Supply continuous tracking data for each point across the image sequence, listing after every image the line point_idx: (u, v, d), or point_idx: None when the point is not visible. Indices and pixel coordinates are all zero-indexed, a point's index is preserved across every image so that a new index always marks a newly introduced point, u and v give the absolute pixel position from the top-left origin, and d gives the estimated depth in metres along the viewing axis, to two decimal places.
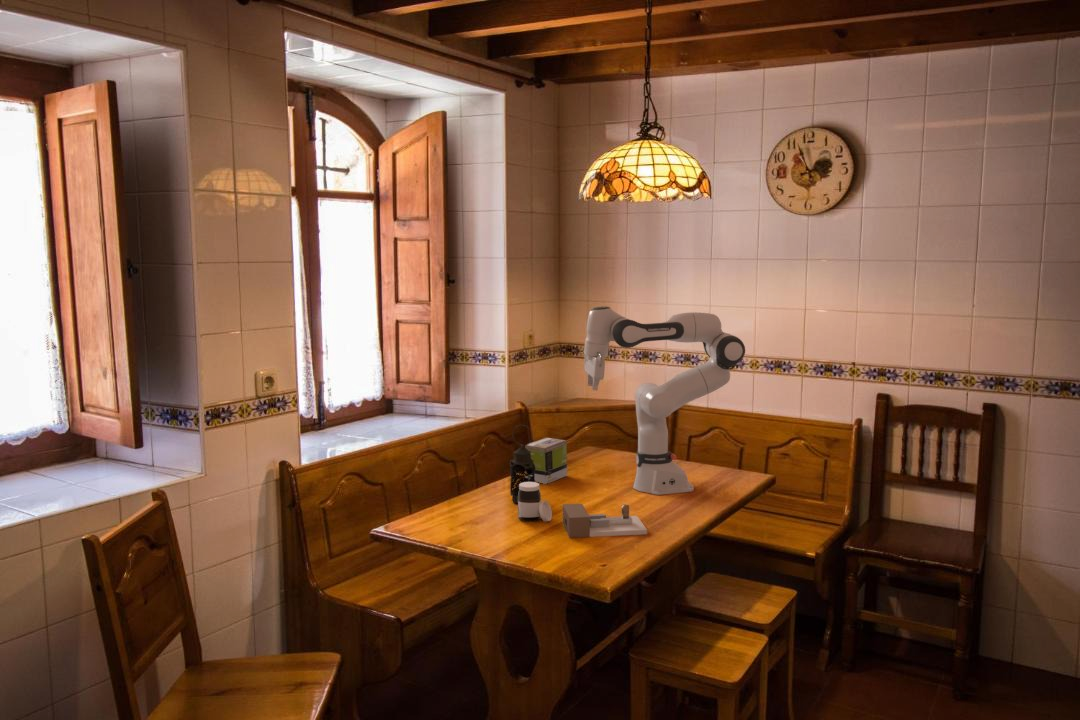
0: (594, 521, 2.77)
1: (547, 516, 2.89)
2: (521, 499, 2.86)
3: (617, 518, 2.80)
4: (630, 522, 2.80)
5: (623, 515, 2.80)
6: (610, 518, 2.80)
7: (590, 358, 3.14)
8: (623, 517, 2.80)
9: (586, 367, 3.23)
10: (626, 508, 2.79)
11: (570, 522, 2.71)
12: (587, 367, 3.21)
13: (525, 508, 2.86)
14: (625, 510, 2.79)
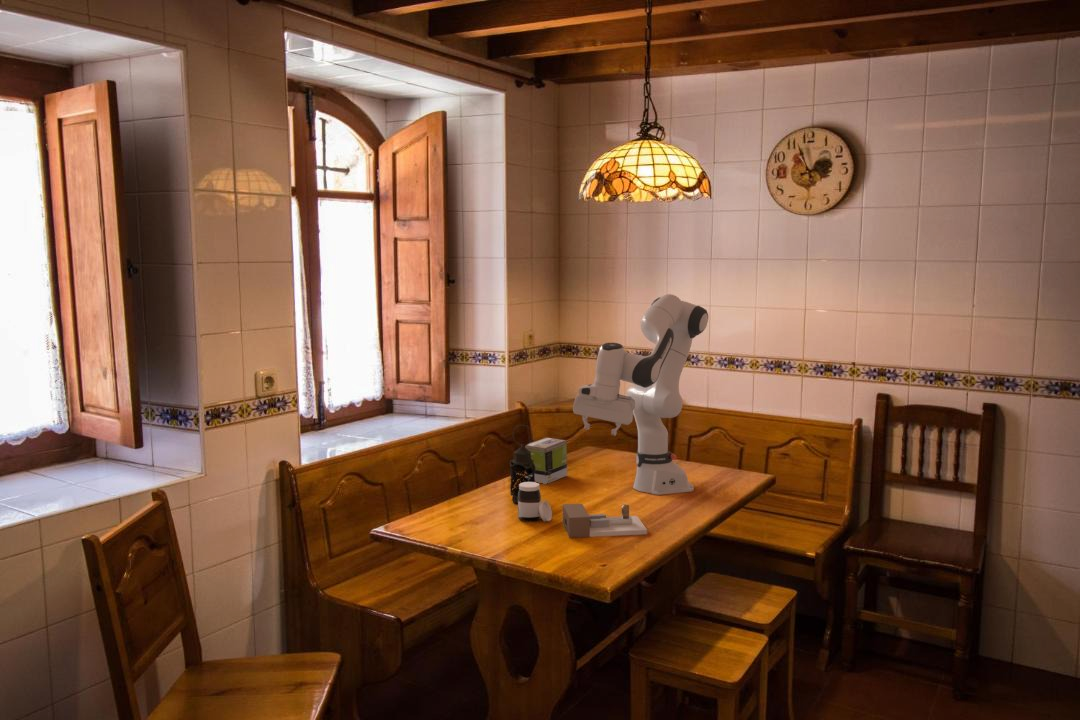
0: (594, 521, 2.77)
1: (547, 516, 2.89)
2: (521, 499, 2.86)
3: (617, 518, 2.80)
4: (630, 522, 2.80)
5: (623, 515, 2.80)
6: (610, 518, 2.80)
7: (608, 402, 2.84)
8: (623, 517, 2.80)
9: (584, 410, 2.88)
10: (626, 508, 2.79)
11: (570, 522, 2.71)
12: (589, 410, 2.87)
13: (525, 508, 2.86)
14: (625, 510, 2.79)
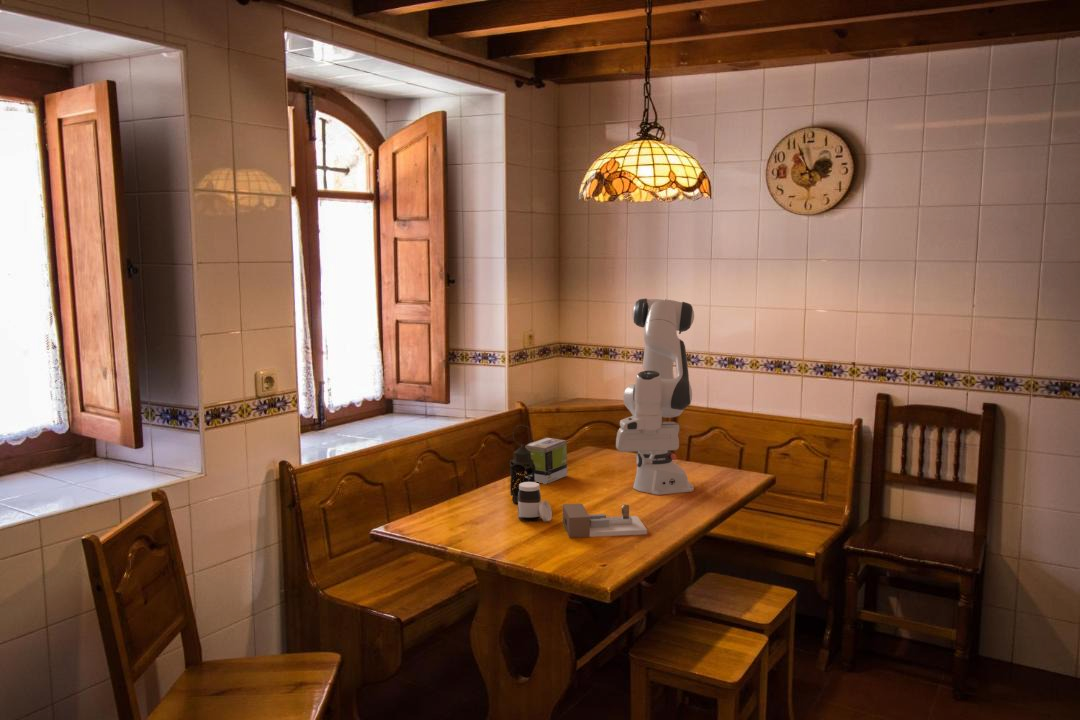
0: (594, 521, 2.77)
1: (547, 516, 2.89)
2: (521, 499, 2.86)
3: (617, 518, 2.80)
4: (630, 522, 2.80)
5: (623, 515, 2.80)
6: (610, 518, 2.80)
7: (656, 431, 2.76)
8: (623, 517, 2.80)
9: (630, 446, 2.76)
10: (626, 508, 2.79)
11: (570, 522, 2.71)
12: (636, 445, 2.76)
13: (525, 508, 2.86)
14: (625, 510, 2.79)
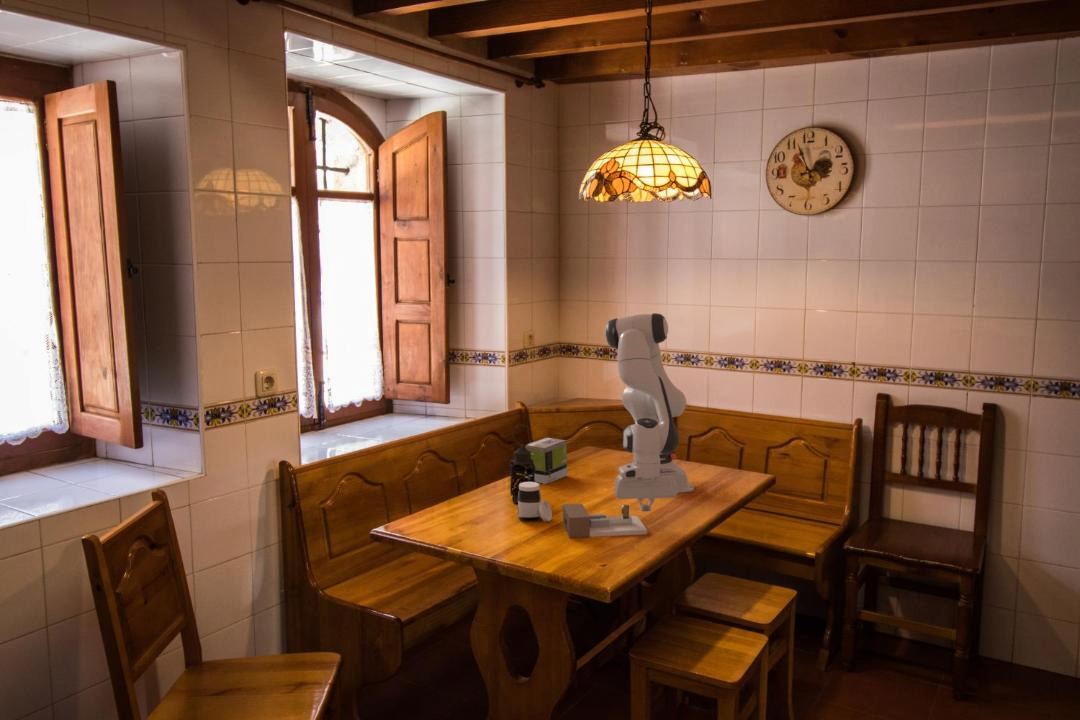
0: (594, 521, 2.77)
1: (547, 516, 2.89)
2: (521, 499, 2.86)
3: (617, 518, 2.80)
4: (630, 522, 2.80)
5: (623, 515, 2.80)
6: (610, 518, 2.80)
7: (654, 479, 2.78)
8: (623, 517, 2.80)
9: (629, 493, 2.78)
10: (626, 508, 2.79)
11: (570, 522, 2.71)
12: (635, 492, 2.78)
13: (525, 508, 2.86)
14: (625, 510, 2.79)
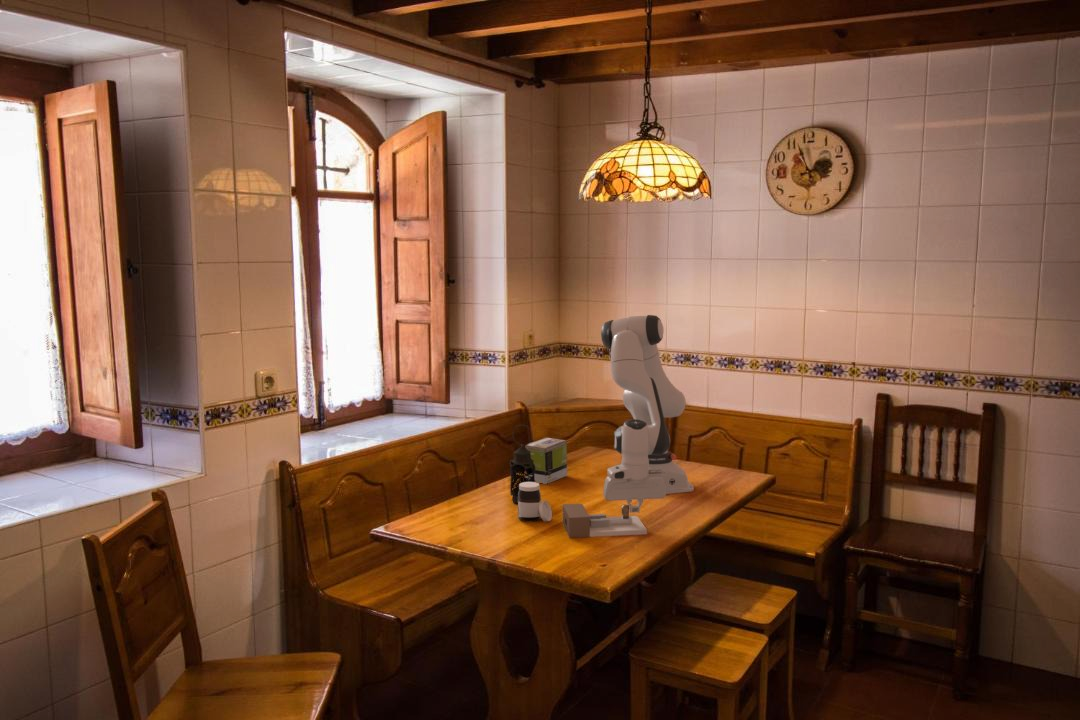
0: (594, 521, 2.77)
1: (547, 516, 2.89)
2: (521, 499, 2.86)
3: (617, 518, 2.80)
4: (630, 522, 2.80)
5: (623, 515, 2.80)
6: (610, 518, 2.80)
7: (643, 480, 2.77)
8: (623, 517, 2.80)
9: (618, 494, 2.77)
10: (626, 508, 2.79)
11: (570, 522, 2.71)
12: (623, 493, 2.78)
13: (525, 508, 2.86)
14: (625, 510, 2.79)
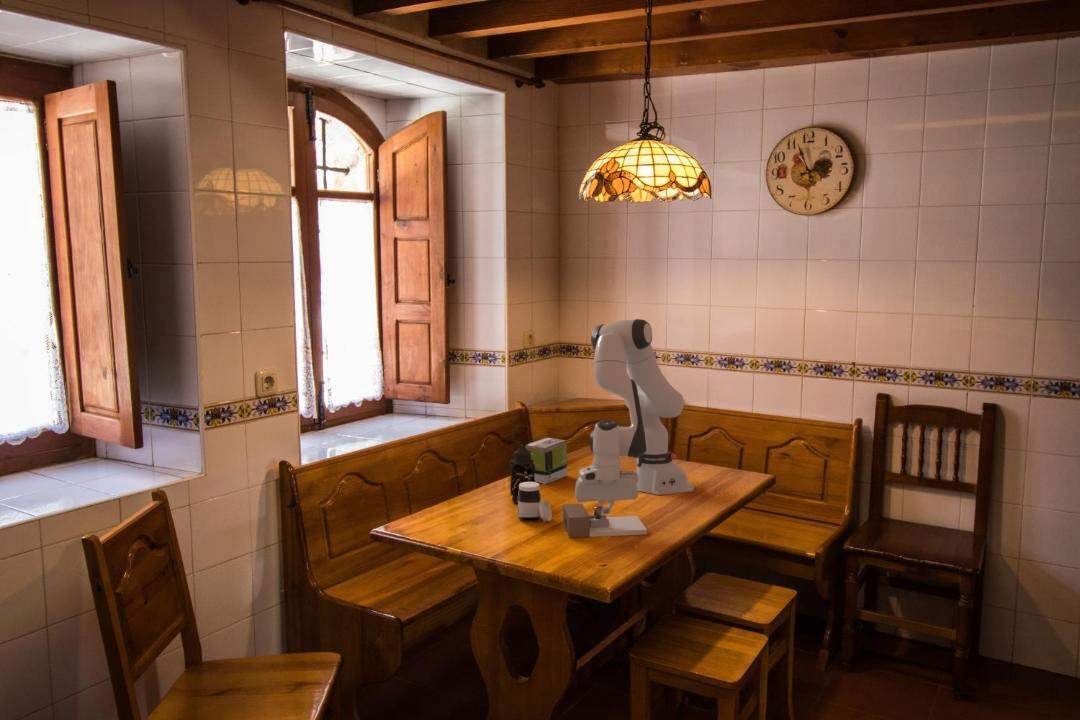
0: (594, 521, 2.77)
1: (547, 516, 2.89)
2: (521, 499, 2.86)
3: None
4: None
5: (595, 516, 2.79)
6: None
7: (614, 481, 2.76)
8: (595, 518, 2.79)
9: (589, 496, 2.76)
10: (598, 509, 2.78)
11: (570, 522, 2.71)
12: (595, 494, 2.76)
13: (525, 508, 2.86)
14: (598, 511, 2.78)
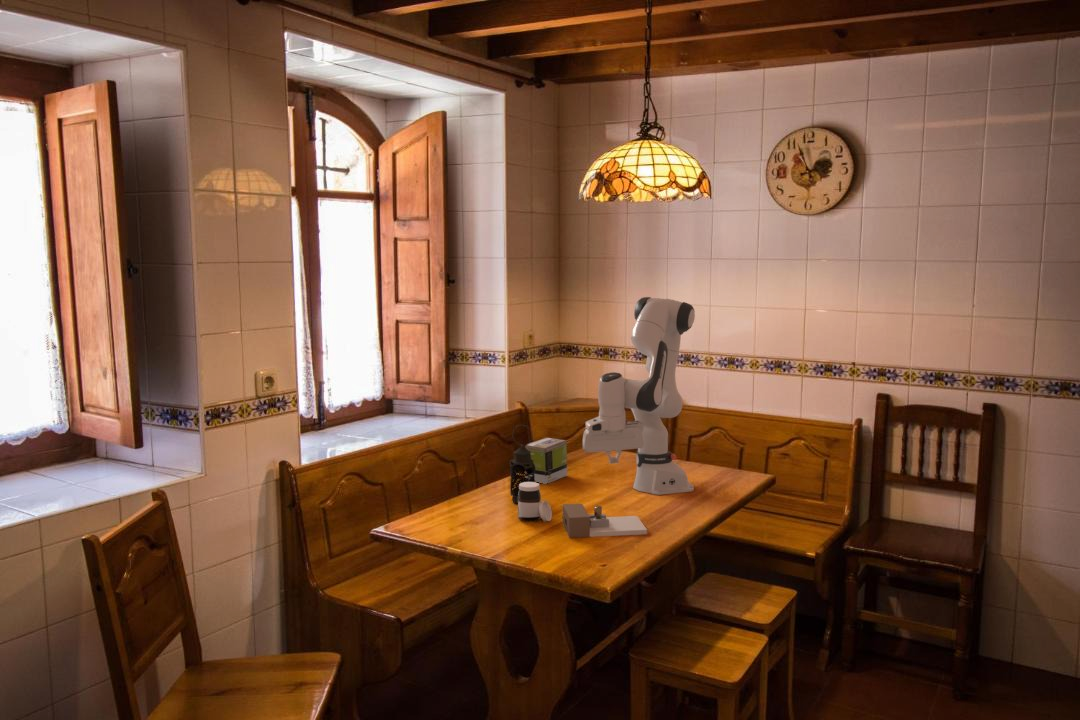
0: (594, 521, 2.77)
1: (547, 516, 2.89)
2: (521, 499, 2.86)
3: None
4: None
5: (595, 516, 2.79)
6: None
7: (620, 431, 2.84)
8: (595, 518, 2.79)
9: (596, 446, 2.84)
10: (598, 509, 2.78)
11: (570, 522, 2.71)
12: (602, 445, 2.85)
13: (525, 508, 2.86)
14: (598, 511, 2.78)
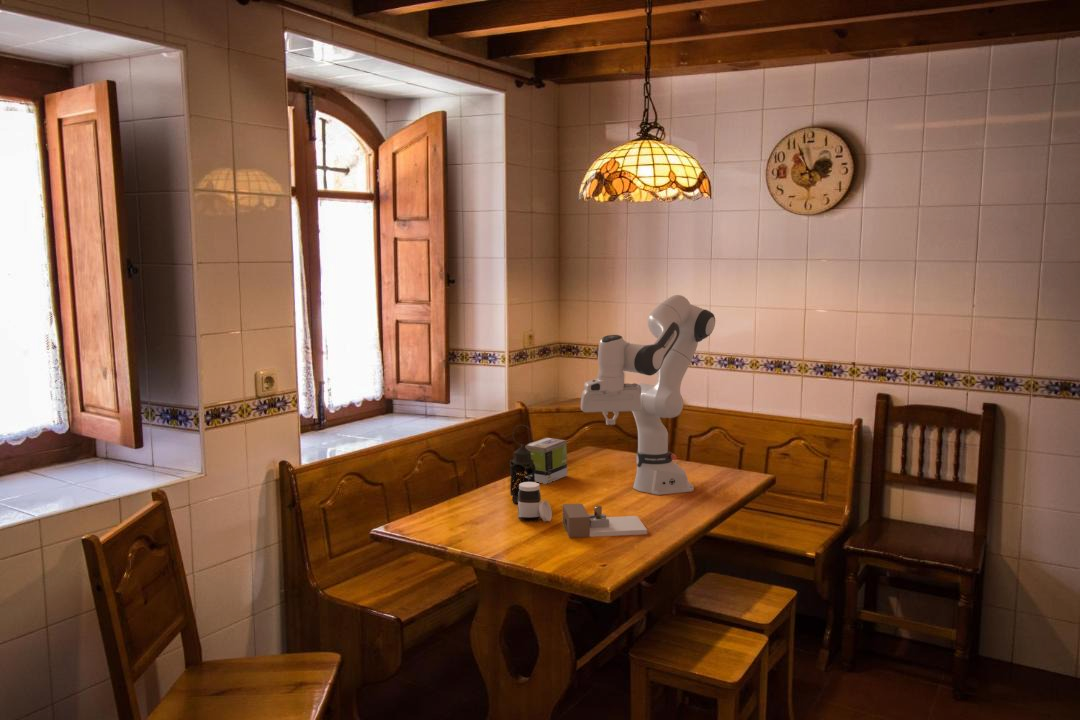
0: (594, 521, 2.77)
1: (547, 516, 2.89)
2: (521, 499, 2.86)
3: None
4: None
5: (595, 516, 2.79)
6: None
7: (618, 393, 2.88)
8: (595, 518, 2.79)
9: (594, 406, 2.88)
10: (598, 509, 2.78)
11: (570, 522, 2.71)
12: (600, 405, 2.88)
13: (525, 508, 2.86)
14: (598, 511, 2.78)
